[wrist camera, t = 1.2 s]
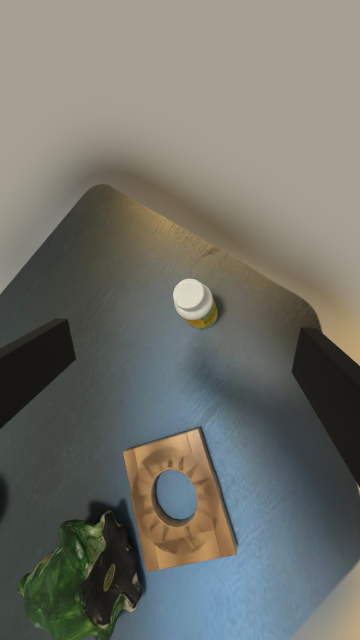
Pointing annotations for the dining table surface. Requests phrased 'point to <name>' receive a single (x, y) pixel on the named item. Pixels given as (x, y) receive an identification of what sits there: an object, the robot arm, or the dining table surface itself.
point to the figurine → (83, 581)
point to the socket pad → (168, 534)
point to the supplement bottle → (195, 303)
